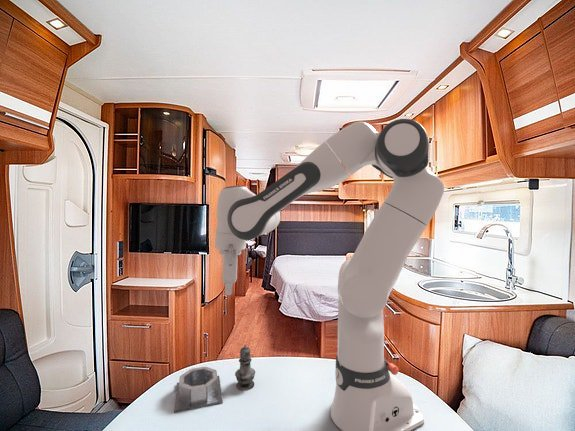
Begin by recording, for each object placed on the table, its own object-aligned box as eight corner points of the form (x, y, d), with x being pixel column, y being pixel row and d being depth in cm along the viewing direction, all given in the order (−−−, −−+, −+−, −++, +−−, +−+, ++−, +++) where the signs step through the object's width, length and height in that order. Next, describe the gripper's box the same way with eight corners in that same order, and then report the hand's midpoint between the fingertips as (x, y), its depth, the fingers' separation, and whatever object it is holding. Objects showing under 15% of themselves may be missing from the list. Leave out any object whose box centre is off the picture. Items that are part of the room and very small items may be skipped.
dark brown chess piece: (251, 392, 81) (251, 350, 81) (231, 389, 83) (231, 348, 82) (258, 380, 87) (257, 340, 87) (239, 377, 88) (239, 338, 88)
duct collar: (219, 377, 89) (219, 362, 88) (222, 403, 77) (222, 386, 77) (176, 384, 85) (176, 369, 85) (174, 412, 74) (173, 394, 73)
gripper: (243, 249, 75) (240, 302, 76) (240, 236, 95) (237, 278, 96) (218, 248, 73) (215, 302, 74) (220, 235, 93) (218, 278, 94)
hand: (228, 288), depth 85 cm, fingers open, 8 cm apart
